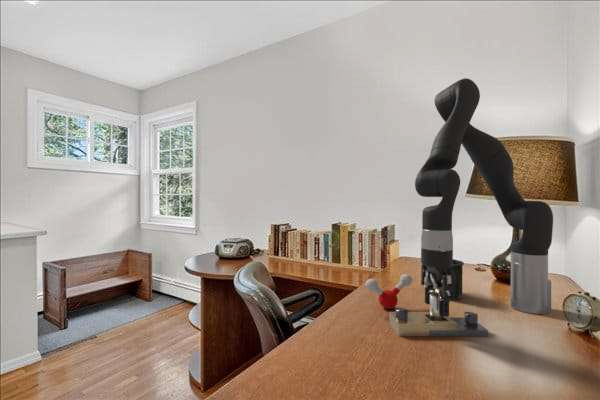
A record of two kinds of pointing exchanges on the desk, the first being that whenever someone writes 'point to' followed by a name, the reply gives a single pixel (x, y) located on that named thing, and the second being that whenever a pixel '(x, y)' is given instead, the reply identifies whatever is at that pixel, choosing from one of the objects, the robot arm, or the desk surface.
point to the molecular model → (388, 291)
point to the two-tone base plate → (434, 324)
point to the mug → (456, 277)
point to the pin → (434, 306)
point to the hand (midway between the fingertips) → (436, 309)
